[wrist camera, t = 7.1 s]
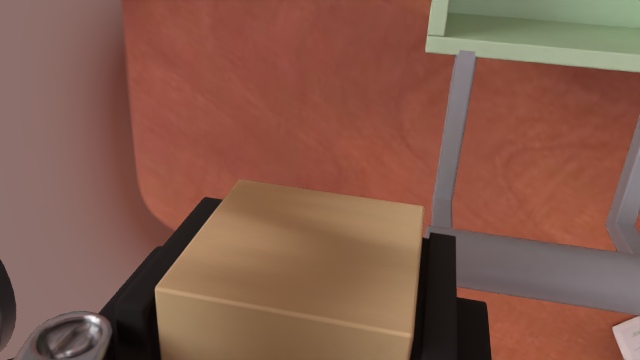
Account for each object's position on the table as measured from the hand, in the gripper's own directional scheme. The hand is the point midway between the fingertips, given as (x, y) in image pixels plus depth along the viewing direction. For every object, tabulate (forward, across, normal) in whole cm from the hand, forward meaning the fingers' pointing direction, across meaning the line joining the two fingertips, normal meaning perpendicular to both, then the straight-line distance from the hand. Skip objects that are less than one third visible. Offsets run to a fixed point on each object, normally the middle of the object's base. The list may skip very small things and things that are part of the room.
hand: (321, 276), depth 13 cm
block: (0, 0, 0) cm, 0 cm away
